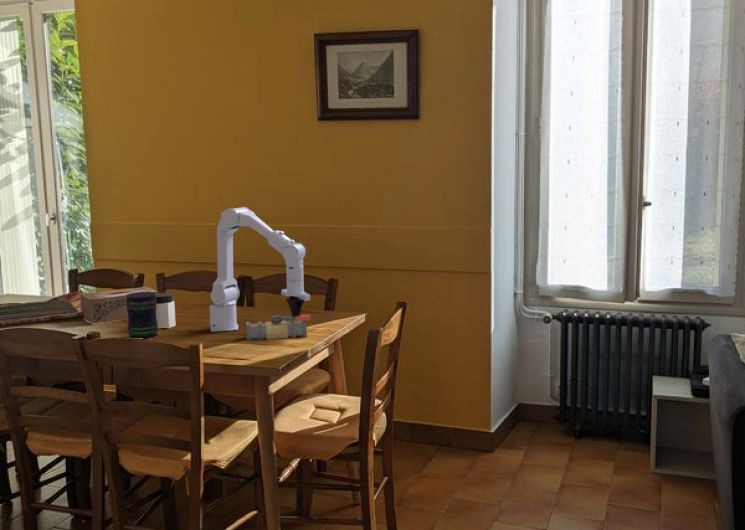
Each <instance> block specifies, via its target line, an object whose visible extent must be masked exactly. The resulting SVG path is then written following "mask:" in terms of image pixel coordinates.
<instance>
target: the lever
mask: <svg viewBox="0 0 745 530" xmlns="http://www.w3.org/2000/svg"><path fill="white" fill-rule="evenodd" d="M282 321H286V322H290V321H306V322H307V321H311V314H300V315H295V316H292V315H287V316H284V315H283V316H281V315H271V316H270V322H271V323H280V322H282Z"/></svg>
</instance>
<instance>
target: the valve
mask: <svg viewBox="0 0 745 530" xmlns="http://www.w3.org/2000/svg"><path fill="white" fill-rule="evenodd" d="M245 325H246V341H251V340H263V339H266V340H280V339H279V338H285V339H288V338H291V339H294V337H295V336H298V337H302V338H307V337H308V329H307V321H282V322H280V323H271V321H265V322H262V321H261V320H258V321H257V323H251V322H250V321H246V324H245ZM295 338H296V337H295Z"/></svg>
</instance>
